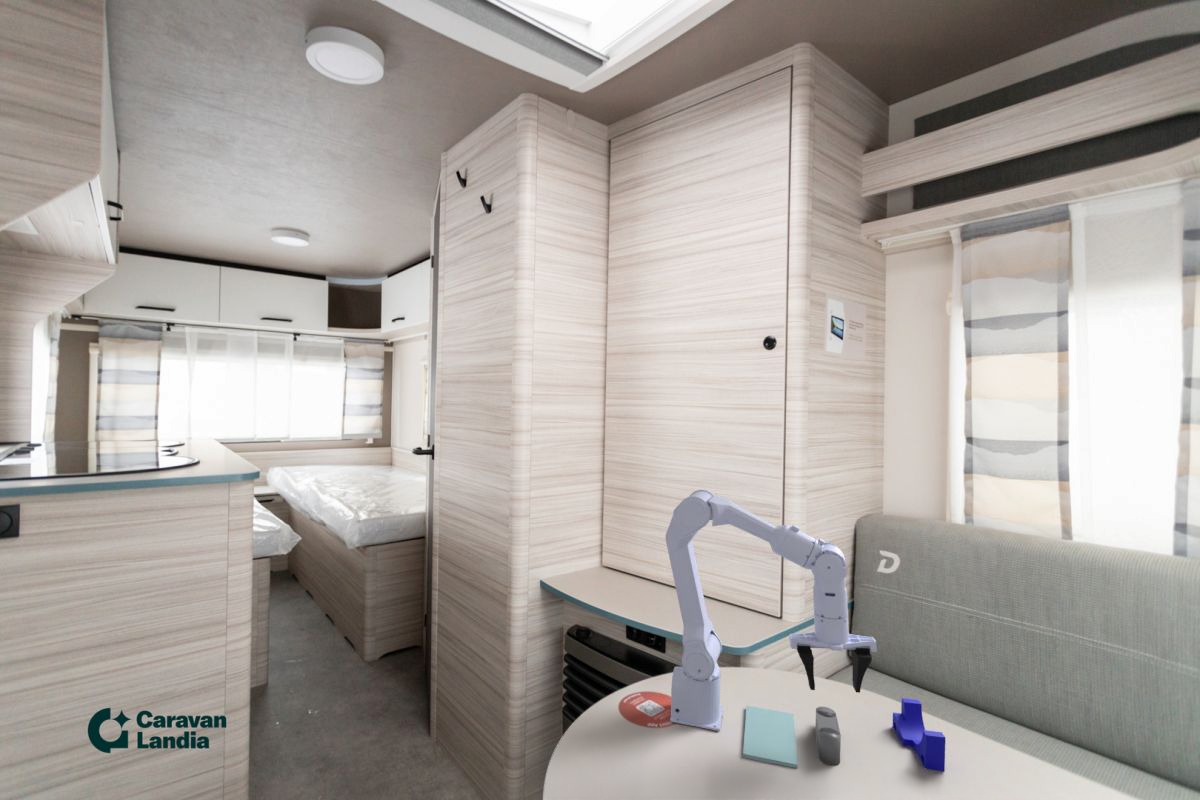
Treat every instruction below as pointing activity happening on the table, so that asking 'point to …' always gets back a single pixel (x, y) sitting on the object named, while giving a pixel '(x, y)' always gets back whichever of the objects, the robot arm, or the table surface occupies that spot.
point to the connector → (827, 736)
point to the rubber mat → (770, 736)
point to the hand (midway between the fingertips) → (834, 688)
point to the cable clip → (919, 735)
